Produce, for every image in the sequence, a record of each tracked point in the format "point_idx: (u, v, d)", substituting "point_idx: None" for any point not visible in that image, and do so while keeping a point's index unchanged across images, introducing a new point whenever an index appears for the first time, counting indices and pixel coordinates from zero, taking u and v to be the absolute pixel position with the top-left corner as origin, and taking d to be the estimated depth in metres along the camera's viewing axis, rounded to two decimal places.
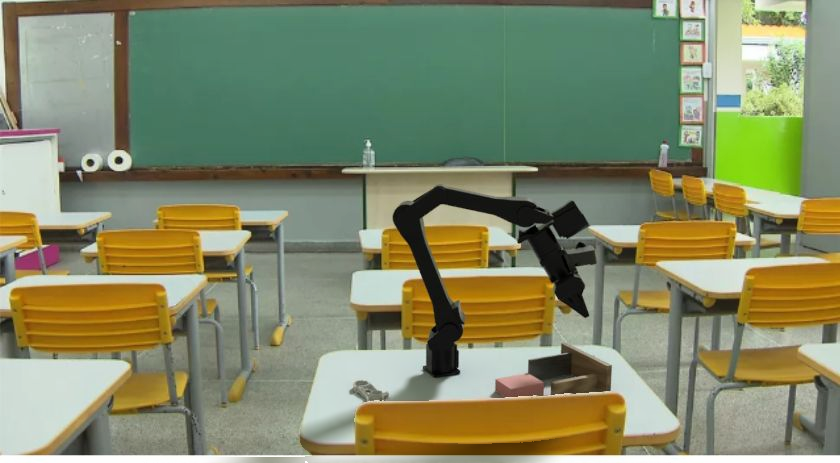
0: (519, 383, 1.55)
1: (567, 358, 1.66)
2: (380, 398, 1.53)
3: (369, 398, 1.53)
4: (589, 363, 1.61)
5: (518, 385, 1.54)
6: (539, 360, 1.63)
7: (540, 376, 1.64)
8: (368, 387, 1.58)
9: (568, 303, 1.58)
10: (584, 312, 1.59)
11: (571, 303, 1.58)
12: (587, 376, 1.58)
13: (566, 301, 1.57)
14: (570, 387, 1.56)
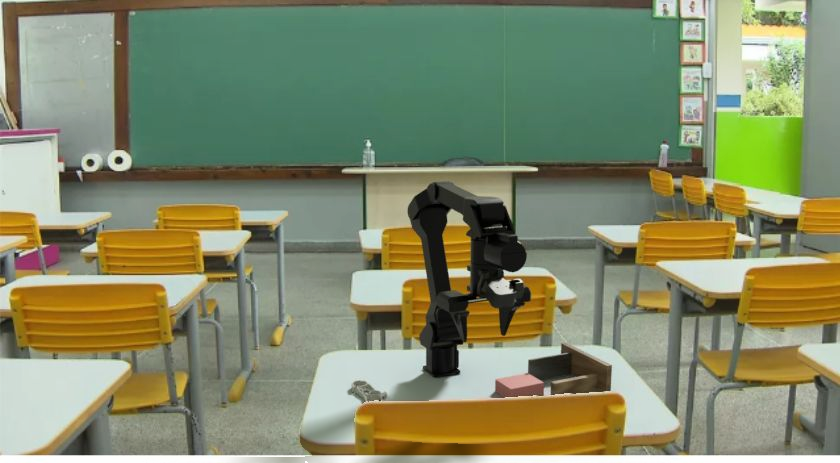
0: (519, 383, 1.55)
1: (567, 358, 1.66)
2: (378, 398, 1.53)
3: (367, 398, 1.53)
4: (589, 363, 1.61)
5: (518, 385, 1.54)
6: (539, 360, 1.63)
7: (540, 376, 1.64)
8: (366, 387, 1.58)
9: (452, 315, 1.49)
10: (461, 335, 1.49)
11: (454, 318, 1.49)
12: (587, 376, 1.58)
13: (451, 312, 1.49)
14: (570, 387, 1.56)
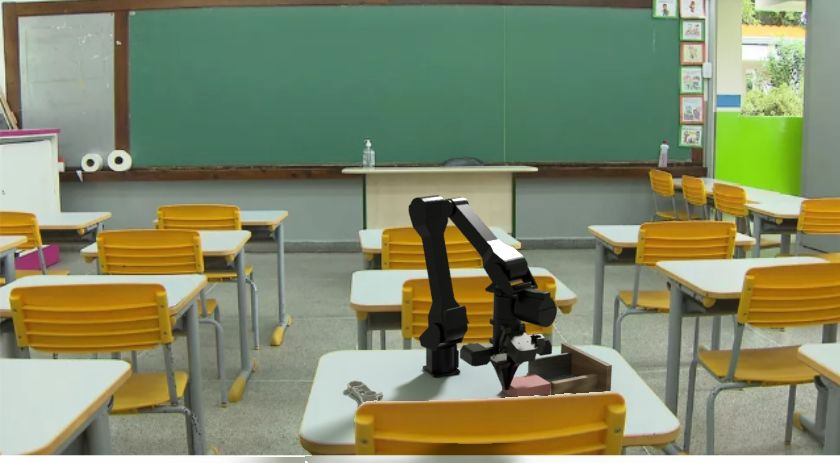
0: (526, 384, 1.55)
1: (567, 358, 1.66)
2: (374, 399, 1.53)
3: (363, 399, 1.53)
4: (589, 363, 1.61)
5: (524, 386, 1.54)
6: (539, 360, 1.63)
7: (540, 376, 1.64)
8: (362, 388, 1.58)
9: (493, 364, 1.55)
10: (502, 384, 1.55)
11: (495, 367, 1.55)
12: (587, 376, 1.58)
13: None
14: (570, 387, 1.56)
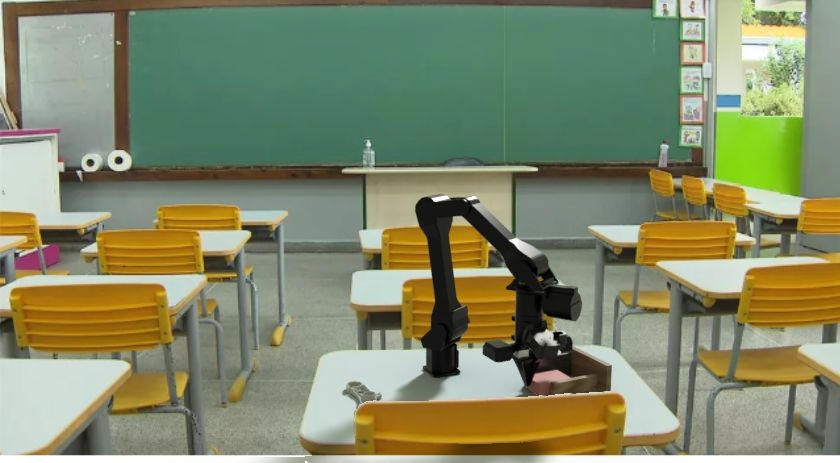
0: (548, 379, 1.57)
1: (567, 358, 1.66)
2: (373, 399, 1.53)
3: (362, 399, 1.53)
4: (589, 363, 1.61)
5: (547, 381, 1.56)
6: None
7: None
8: (361, 388, 1.58)
9: (515, 361, 1.57)
10: (524, 380, 1.57)
11: (517, 363, 1.57)
12: (587, 376, 1.58)
13: None
14: (570, 387, 1.56)
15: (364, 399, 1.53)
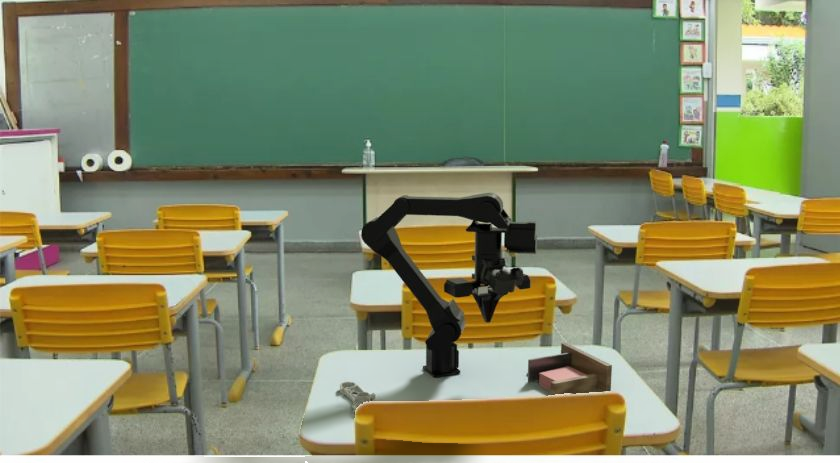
0: (564, 376, 1.59)
1: (567, 358, 1.66)
2: (367, 400, 1.52)
3: (355, 400, 1.53)
4: (589, 363, 1.61)
5: (563, 378, 1.58)
6: (539, 360, 1.63)
7: None
8: (355, 389, 1.57)
9: (475, 298, 1.65)
10: (484, 316, 1.65)
11: (477, 301, 1.65)
12: (587, 376, 1.58)
13: (474, 296, 1.65)
14: (570, 387, 1.56)
15: (358, 400, 1.52)
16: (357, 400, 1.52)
